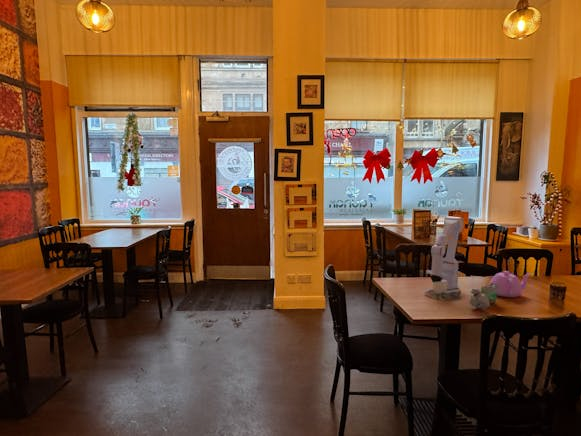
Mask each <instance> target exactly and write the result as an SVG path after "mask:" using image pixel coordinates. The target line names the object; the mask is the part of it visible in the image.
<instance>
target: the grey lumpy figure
mask: <svg viewBox="0 0 581 436" xmlns="http://www.w3.org/2000/svg"><path fill="white" fill-rule="evenodd" d="M470 294H471V296H470V300H469V304H470V305H471V306H472V307H474V308H477V309H479V310H485V309H487V308H489V307H490V306H491V305H490V304H489V299H488V297H487V296H486V295H485V294H482V290H481V289H479V288H477V287H476V288H472V289H471V290H470Z"/></svg>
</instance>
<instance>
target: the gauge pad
mask: <svg viewBox="0 0 581 436" xmlns="http://www.w3.org/2000/svg"><path fill="white" fill-rule="evenodd" d="M432 291H433V292H436V293H439V294H440V293H442V292H444V291H448V289H447V281H446V280H444V281H442V280H441V281H438V282H432V289H431V290H430V289H429V291H428V292H432Z"/></svg>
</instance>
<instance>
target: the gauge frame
mask: <svg viewBox="0 0 581 436" xmlns="http://www.w3.org/2000/svg"><path fill="white" fill-rule="evenodd" d="M429 290H430V289H429ZM429 290H425V291H424V295H425V296H427V297H430V298H433V299H435V300H441V301H444V302H445V301H450V300H454V299H460V298H462V296H461V292H462V291H461V290H460V289H458V288H454V289H449V290H447V291H444V292H442V293H440V294H439V293H436V292H433V291H432V292H428V291H429Z"/></svg>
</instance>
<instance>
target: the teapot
mask: <svg viewBox="0 0 581 436" xmlns="http://www.w3.org/2000/svg"><path fill="white" fill-rule="evenodd" d="M531 275H532V273H526V274H524V275H523V278H522V281H521V282H520V280H519V278H518V276H516V275H515V274H512V273H511V272H510V271H508V270H503V271H501V272H498V273H496V274H495V275H494V276H493V277H492V278H491V280H490V281H489V284H488V285H491V283H493V284H496V285H498V288H499V291H497V296H499V297H503V298H504V297H505V298H516V297H519V296H520V295H521V294H522V293H523V290H525V288H526V287H527V284H528V278H529V276H531Z"/></svg>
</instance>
